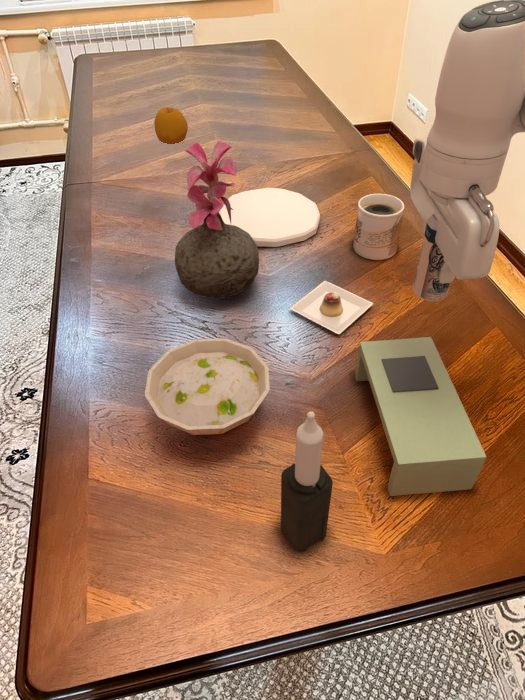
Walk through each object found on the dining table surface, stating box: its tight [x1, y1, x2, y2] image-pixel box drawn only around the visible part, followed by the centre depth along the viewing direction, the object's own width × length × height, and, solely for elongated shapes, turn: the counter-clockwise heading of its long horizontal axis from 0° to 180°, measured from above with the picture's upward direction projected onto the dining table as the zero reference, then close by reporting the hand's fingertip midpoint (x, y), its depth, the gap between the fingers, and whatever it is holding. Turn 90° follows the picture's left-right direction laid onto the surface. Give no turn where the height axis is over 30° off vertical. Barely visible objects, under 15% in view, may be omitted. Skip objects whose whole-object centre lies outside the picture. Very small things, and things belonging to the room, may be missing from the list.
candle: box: [280, 411, 334, 553], centre depth 65 cm, size 5×5×25 cm
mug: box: [352, 193, 405, 261], centre depth 120 cm, size 10×12×11 cm
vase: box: [174, 140, 260, 300], centre depth 103 cm, size 17×17×30 cm
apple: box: [153, 106, 189, 144], centre depth 161 cm, size 10×10×12 cm
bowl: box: [144, 337, 271, 436], centre depth 84 cm, size 19×19×10 cm
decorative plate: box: [219, 187, 321, 248], centre depth 131 cm, size 25×4×25 cm
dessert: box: [289, 280, 374, 335], centre depth 105 cm, size 12×12×5 cm
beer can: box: [412, 215, 452, 302], centre depth 71 cm, size 5×5×12 cm
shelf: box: [354, 336, 487, 497], centre depth 83 cm, size 12×24×8 cm, turn 5°
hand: (436, 266), depth 72 cm, fingers closed on beer can, 5 cm apart
